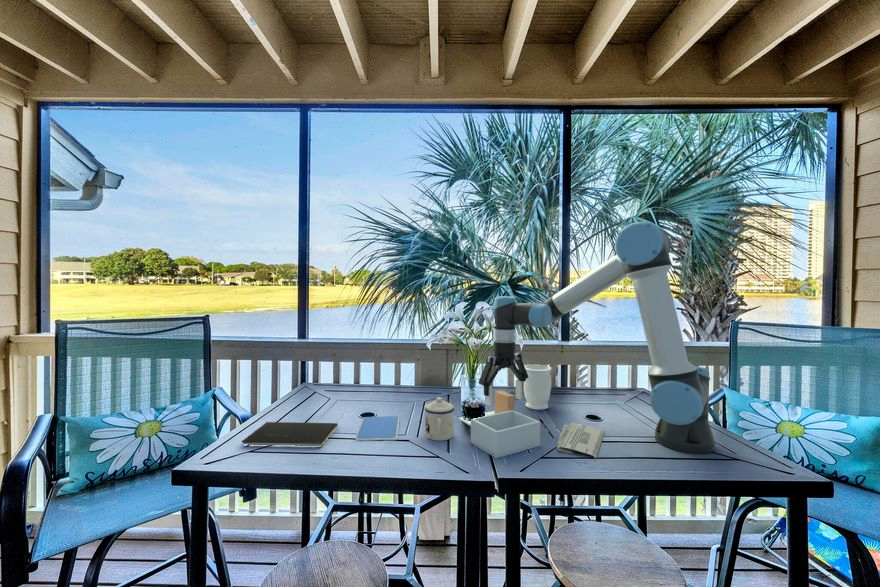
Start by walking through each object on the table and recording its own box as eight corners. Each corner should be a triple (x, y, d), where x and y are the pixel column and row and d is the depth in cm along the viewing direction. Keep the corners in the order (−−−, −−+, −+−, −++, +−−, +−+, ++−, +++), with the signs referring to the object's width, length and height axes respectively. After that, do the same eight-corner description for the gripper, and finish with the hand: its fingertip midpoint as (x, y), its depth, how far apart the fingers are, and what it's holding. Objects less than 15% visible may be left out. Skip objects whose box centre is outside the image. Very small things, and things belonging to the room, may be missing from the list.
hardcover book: (321, 450, 114) (321, 442, 114) (241, 449, 115) (241, 441, 115) (337, 429, 130) (337, 422, 130) (267, 428, 131) (267, 421, 131)
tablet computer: (397, 442, 120) (396, 437, 120) (354, 443, 120) (354, 438, 119) (399, 419, 140) (399, 415, 139) (363, 420, 139) (363, 416, 139)
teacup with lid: (425, 429, 128) (425, 393, 128) (453, 430, 128) (454, 393, 128) (423, 445, 116) (423, 405, 116) (454, 445, 116) (454, 405, 116)
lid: (520, 423, 136) (520, 397, 135) (480, 432, 127) (480, 404, 127) (497, 412, 147) (497, 388, 146) (458, 420, 138) (458, 394, 138)
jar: (554, 411, 147) (554, 370, 146) (525, 411, 147) (526, 370, 147) (547, 402, 158) (547, 364, 157) (520, 402, 158) (520, 364, 157)
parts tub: (540, 445, 116) (540, 421, 116) (496, 458, 108) (496, 432, 108) (512, 432, 127) (512, 410, 126) (470, 442, 119) (470, 419, 118)
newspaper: (564, 427, 133) (565, 419, 133) (604, 437, 127) (605, 430, 127) (548, 452, 113) (549, 443, 113) (594, 466, 107) (595, 457, 107)
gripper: (524, 337, 149) (523, 394, 150) (468, 342, 136) (468, 404, 137) (538, 339, 143) (538, 399, 143) (481, 345, 130) (481, 410, 131)
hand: (503, 401), depth 140 cm, fingers open, 13 cm apart
